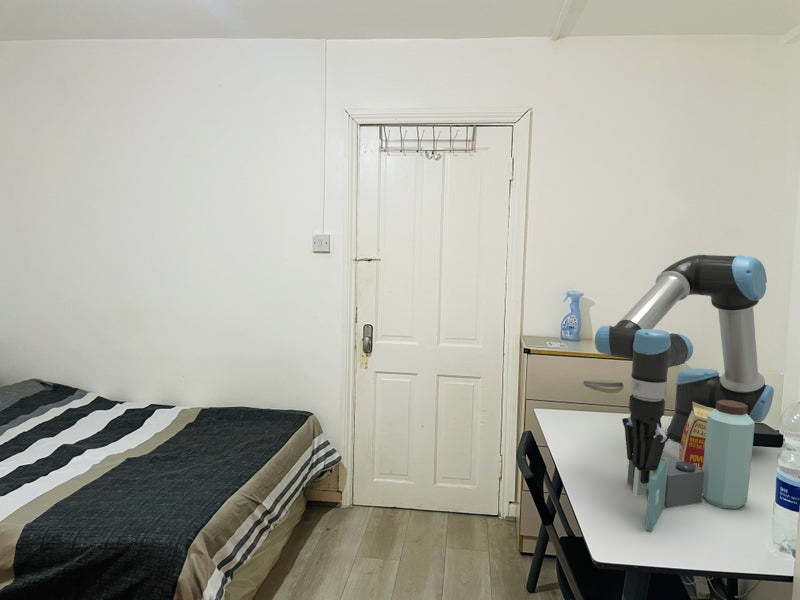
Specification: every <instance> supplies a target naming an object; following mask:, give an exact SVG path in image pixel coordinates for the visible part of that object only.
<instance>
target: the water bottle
mask: <svg viewBox="0 0 800 600" xmlns="http://www.w3.org/2000/svg"><path fill="white" fill-rule="evenodd" d="M747 410H748V406H747V405H746V404H744V403H741V402H736V401H731V400H719V401H716V408H715V409H714V410H713V411H712V412H711V413H709V414H708V416H707V428H706V439H705V451H704V463H703V471H704V479H703V490H702V496H703V498H704V499H706V501H707V502H708V503H710V504H713V505H715V506H717V507H720V508H722V509H730V510H733V509H734V510H737V509H739V508H741V507H743V506H744V505H746V503H747V502H748V498H749V497H748V496H749V487H750V486H749V485H750V477H751V465H752V454H753V445H754V436H755V435H754V434H755V425H756V424H755V423H756V422H754V421H753V420H752V419H751V418H750V417H749V415H748V414H747Z"/></svg>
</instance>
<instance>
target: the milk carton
mask: <svg viewBox="0 0 800 600" xmlns="http://www.w3.org/2000/svg"><path fill="white" fill-rule="evenodd" d="M692 403H693V407H692V411H691V413H690V416H689V418H688V420H687V423H686V425H685V427H684V431H683V436H682V440H681V443H679V453H678V454H679V456H678V457H679V458H678V459H680V460H682V461H684V462H688V463H691V464H694V465H695V466H696V468H698V469H700V470H702V471H703V463H704V451H705V439H706V428H707V416H708V414H709V413H711V412H712V411H713V410H714V409H713V408H709V407H705V406H702V405H700V404H697V403H694V402H692Z"/></svg>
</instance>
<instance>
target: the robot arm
mask: <svg viewBox="0 0 800 600" xmlns="http://www.w3.org/2000/svg"><path fill="white" fill-rule="evenodd" d="M655 279H656V280H655V284H654V285H653V286H652V287H651V288H650V289H649V290H647V292H646V293H645V294H644V296H642V297H641V298H640V299H639V300H638V301H637V302H636V304H634V306H633V307H631V309H630V310H629V311H628V312H627V313H626V314H625V315H624V316H623V317H622V318H621V319H620V320H619V321H618V322H617V323H616V324H615V325H614V326H612V325H602V326H600V327H598V329H597V331H596V333H595V336H594V345H595V349H596V350H597V352H598V353H600V354H604V355H607V356H609V357H616V358H622V359H623V358H624V359H627V360H628V359H629V360H632V365H631V377H630V378H631V379H630V380H631V381H630V390H629V392H630V396H629V399H628V400H629V401H628V402H629V403H628V410H629V412H630V415H629V417H625V418H622V419H621V420H622V424H623V426H624V436H625V445H626V446H625V447H626V457H627V460H628V461H629V460H631V461H632V464H633V465H634V468H633V478H634V485H633V486H632V494H633V495H634V496H636V497H639V496H645V495H646V493H647V483H648V482H649V475H650V470H657V469H658V466H659V462H660V459H661V456H662V453H663V451H664V448H665V446H666V443H667V442H668V441H669V439H670V440H672V441H675V442H676V443H677V442H678V443H679V444H681V440H682V436H683V431H684V427H685V425H686V423H687V420H688V418H689V416H690V413H691V411H692V407H693V403H692V402H694V403H697V404H700V405H702V406H705V407H709V408H713V409H715V408H716V401H719V400H731V401H736V402H741V403H744V404H746V405H747V406H748V410H747V414H748V415H749V417H750V418H751V419H752V420H753V421H754V422H755V423H761V422H762V423H763V421H764V420H766V418H767V416H768V414H769V412H770V409H771V406H772V403H773V398H774V393H775V392H774V389H775V388H774V387H773V386H772V385H770V384H766V381H765V376H763V374H762V373H760V372H759V368H758V367H759V365H758V354H757V341H756V338H757V337H756V328H755V327H756V326H755V313H754V307H756V306H757V305H758V303H759V302H760V300H762V299H763V298H764V296H765V295H766V291H767V282H768V280H767V273H766V269H765V266H764V264H763V263H762V261H761V260H759V259H758V258H756V257H754V256H753V257H752V256H744V255H737V256H736V255H715V254H714V255H712V254H711V255H710V254H709V255H708V254H695V255H691V256H687V257H685V258H683V259H680V260H678V261H676V262H674V263H672V264H671V265H669V266H668V267H666V268H665V269H664V270H662V272H660V273H659V274H658V275H657V277H656V278H655ZM692 295H693V296H695V295H696V296H697V295H698V296H707V297H710V301H711V306H713V307H714V308H715V309H717V311H718V318H719V320H718V321H719V329H720V330H719V331H720V339H721V350H722V359H723V367H724V368H723V369H724V373H723V372H722V374H721V375H720V373H719V371H718V370H716V369H711V368H687V369H683V370H680V371H679V372H678V375H677V379H676V388H675V390H676V391H675V404H674V414H673V416H672V418H671V420H670V423H669V425H668V427H667V431H666V433H665V432H664V431H663V430H662V428H663V427H662V422H661V418H662V417H663V416H664V415H665V407H666V401H665V399H666V398H667V397H666V396H667V395H666V394H667V383H668V382H667V381H668V371H669V370H668V369H669V368H672V367H677V366H681V365H683V364H684V363H686V362H688V361H690V359H691V358H692V357H693V353H694V346H693V343H692V341H691V340H690V338H689V337H687V336H686V335H684V334H682V333H673V332H672V333H670V332H668V331H666V330H661V329H655V327H656V326H657V325H658V324H659V323H660V322H661V320H662V319H663V318H664V317H665V316H666V315H667V314H668V313H669V312H670V310H672V308H673V307H674V306H675V305H676V303H678V302H679V301H682V300H684V299H686V298H687V297H688V296H692ZM632 454H633V455H632ZM646 496H647V495H646Z"/></svg>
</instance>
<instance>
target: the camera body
mask: <svg viewBox="0 0 800 600" xmlns="http://www.w3.org/2000/svg"><path fill="white" fill-rule="evenodd" d="M632 455H633V454H632ZM662 457H666V458H668V466H667V479H666V491H665V504H664V508H674V507H680V506H686V505H687V506H688V505H693V504H694V503H695V504H701V503H702V499H703V494H702V490H703V479H704V471H702V470H700V469H698V468H696V466H695V465H694V464H691V463H688V462H684V461H682V460H680V459H679V458H678V457H676V456H674V455H672V454H670V453H668V452H666V451H664V450H663V453H662V456H661V459H662ZM661 459H660V462H661ZM660 462H659V463H660ZM627 468H628V469H627V482H626V483H627V484H628V485H629V486H631V487H633V485H634V478H633V468H634V465H633V464H632V461H631V460H628V466H627ZM654 471H655V470H650V475H649V480H650V477H651V476H652V474H653V473H654ZM648 494H649V482H648V483H647V493H646V496H647V497H648Z"/></svg>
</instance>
